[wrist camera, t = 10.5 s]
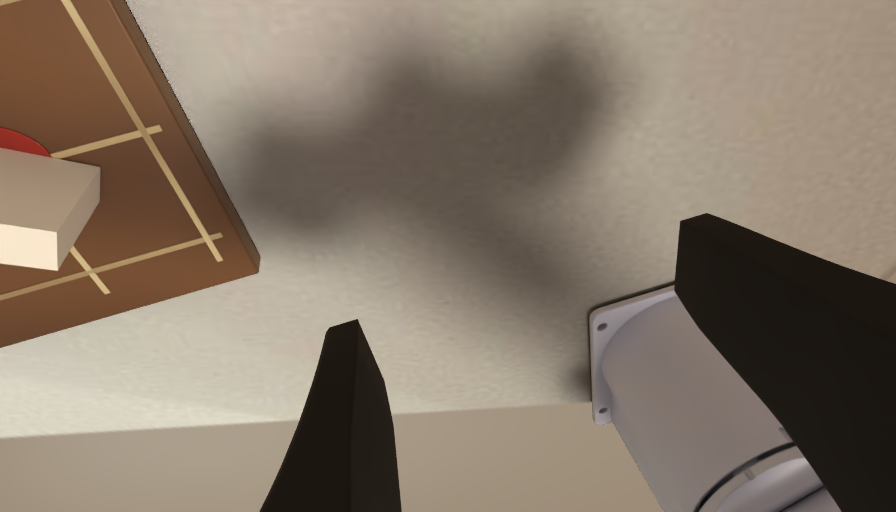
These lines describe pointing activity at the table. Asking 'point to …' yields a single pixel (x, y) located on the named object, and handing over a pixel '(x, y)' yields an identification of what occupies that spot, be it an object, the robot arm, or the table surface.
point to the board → (109, 169)
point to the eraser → (43, 207)
